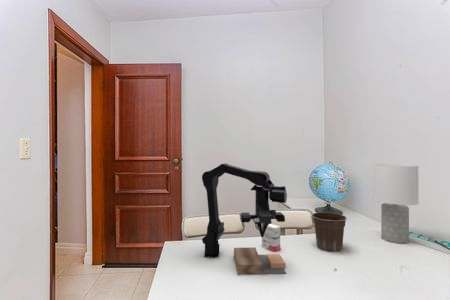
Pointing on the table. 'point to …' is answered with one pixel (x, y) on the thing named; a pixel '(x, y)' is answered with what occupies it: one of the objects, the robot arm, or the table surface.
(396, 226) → the lamp
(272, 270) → the mat
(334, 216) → the plant pot
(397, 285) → the table surface
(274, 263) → the light orange block
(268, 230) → the ink box
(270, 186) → the robot arm
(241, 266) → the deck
